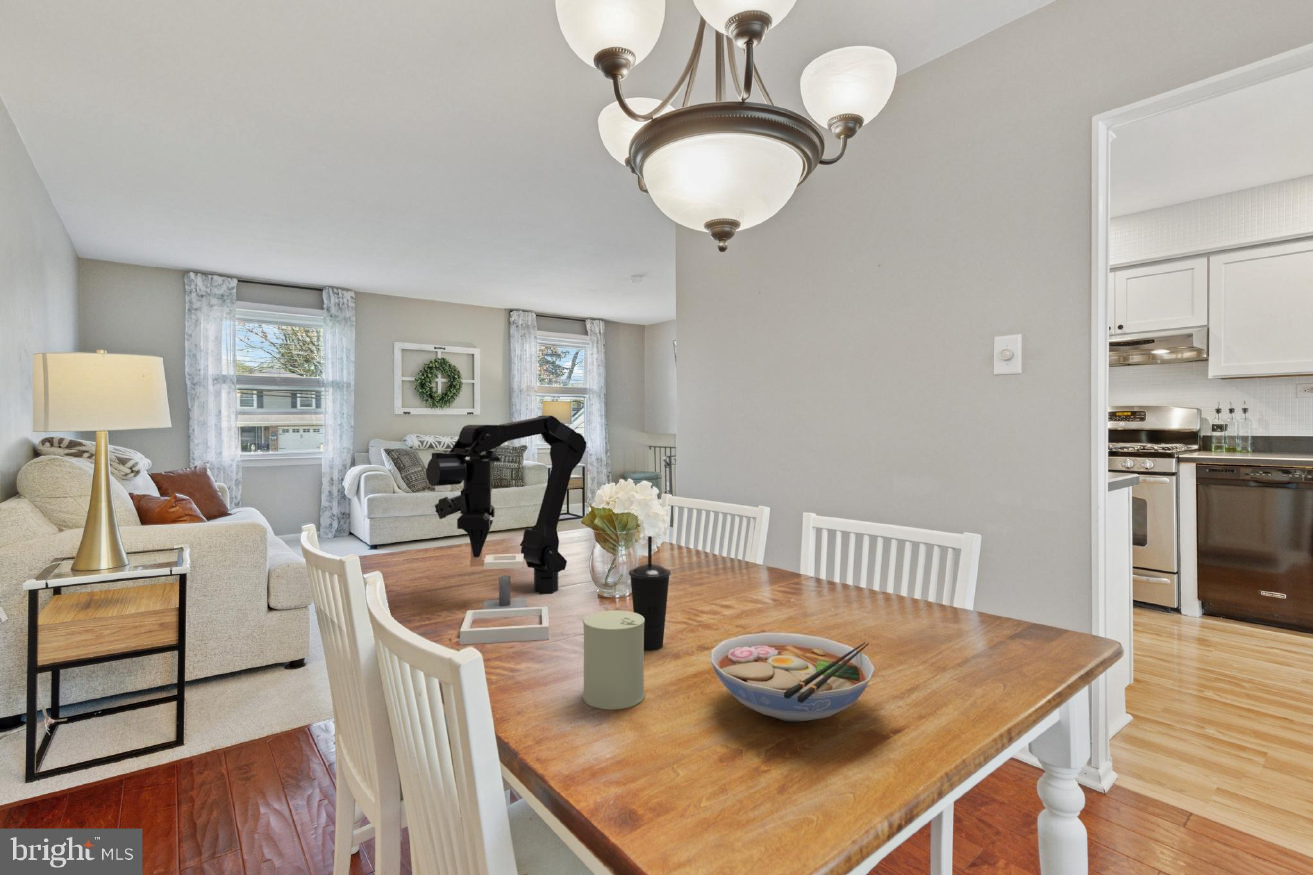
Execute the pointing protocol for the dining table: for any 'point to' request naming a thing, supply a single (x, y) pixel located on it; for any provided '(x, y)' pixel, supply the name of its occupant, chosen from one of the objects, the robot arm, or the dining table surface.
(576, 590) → the dining table surface
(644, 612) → the drinking cup
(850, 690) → the ramen bowl
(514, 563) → the ring
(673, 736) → the dining table surface
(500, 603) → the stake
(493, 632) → the tray
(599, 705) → the can
